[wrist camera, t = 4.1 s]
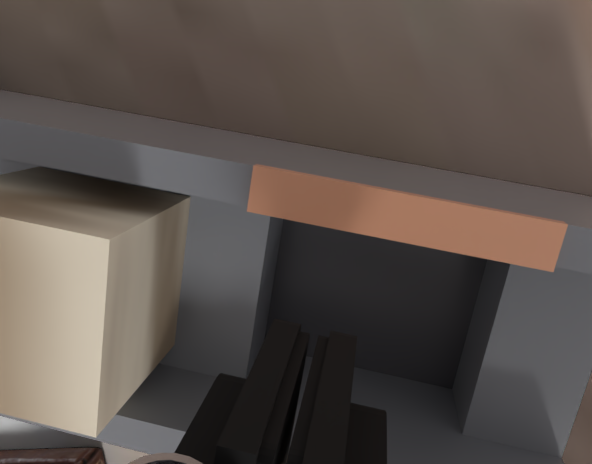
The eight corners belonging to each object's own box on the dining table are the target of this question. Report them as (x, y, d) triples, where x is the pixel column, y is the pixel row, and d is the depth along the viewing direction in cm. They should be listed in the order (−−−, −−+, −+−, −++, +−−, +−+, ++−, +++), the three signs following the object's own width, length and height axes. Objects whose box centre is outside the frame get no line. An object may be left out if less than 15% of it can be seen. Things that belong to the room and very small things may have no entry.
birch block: (190, 196, 16) (110, 239, 12) (174, 344, 18) (95, 437, 13) (38, 166, 17) (-100, 195, 12) (33, 312, 18) (-91, 390, 14)
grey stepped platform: (619, 145, 17) (746, 175, 11) (515, 466, 20) (570, 626, 14) (-309, -12, 21) (-593, -55, 15) (-270, 278, 24) (-490, 341, 18)
